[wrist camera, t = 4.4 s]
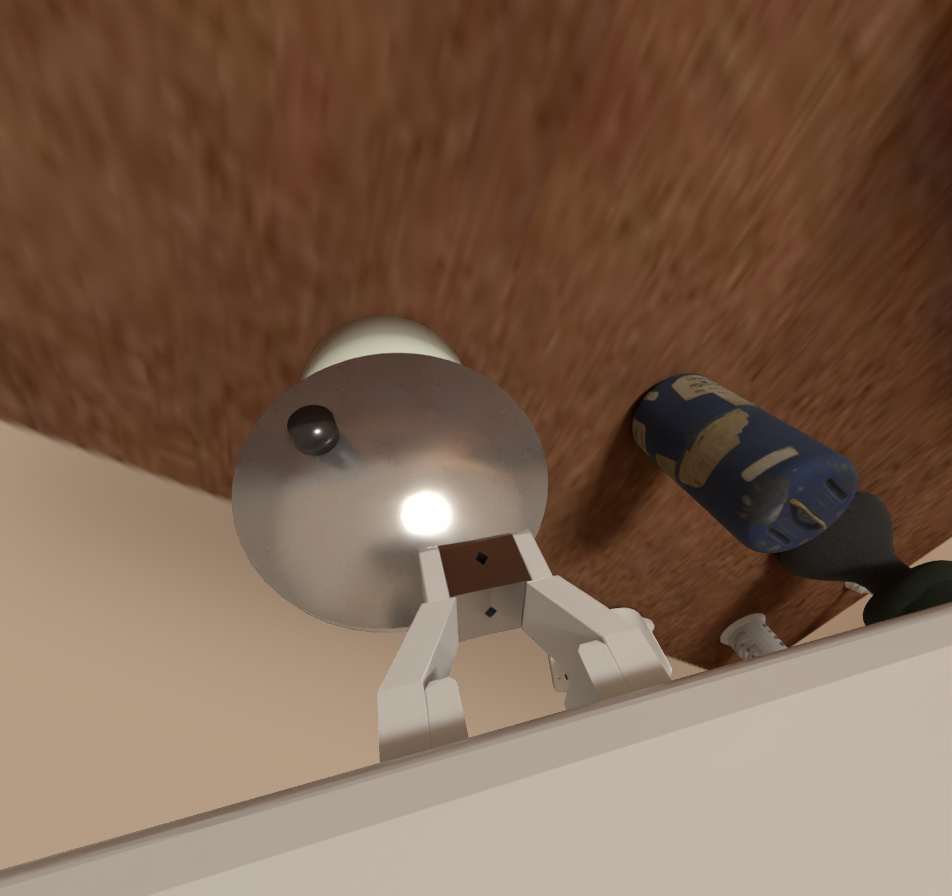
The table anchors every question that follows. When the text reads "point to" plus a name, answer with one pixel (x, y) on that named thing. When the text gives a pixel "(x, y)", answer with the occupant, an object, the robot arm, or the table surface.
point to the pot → (376, 342)
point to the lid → (381, 482)
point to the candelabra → (871, 563)
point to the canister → (743, 463)
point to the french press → (751, 637)
